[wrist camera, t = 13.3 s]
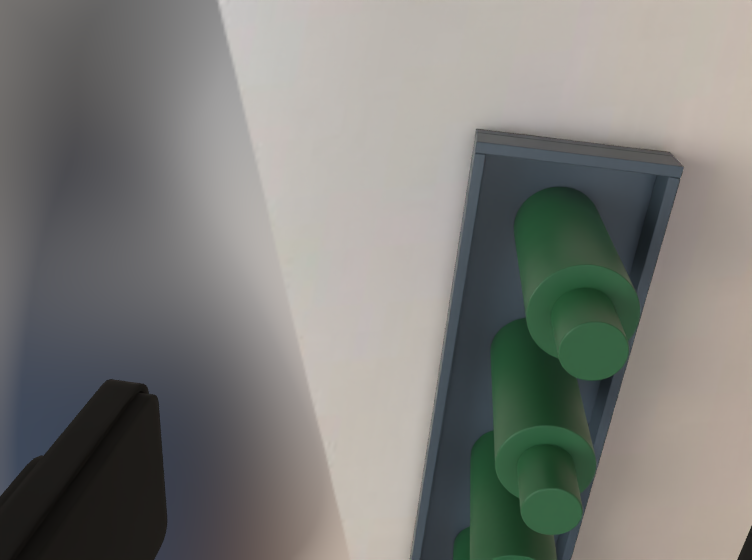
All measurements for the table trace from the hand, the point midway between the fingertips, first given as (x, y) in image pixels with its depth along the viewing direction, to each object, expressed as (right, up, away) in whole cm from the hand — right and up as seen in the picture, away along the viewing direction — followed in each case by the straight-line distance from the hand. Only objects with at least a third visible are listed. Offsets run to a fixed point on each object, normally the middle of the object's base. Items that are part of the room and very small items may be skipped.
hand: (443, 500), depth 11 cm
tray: (+8, -5, +34) cm, 35 cm away
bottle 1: (+8, -1, +31) cm, 32 cm away
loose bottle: (+9, +6, +28) cm, 30 cm away
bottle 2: (+7, -8, +35) cm, 36 cm away
